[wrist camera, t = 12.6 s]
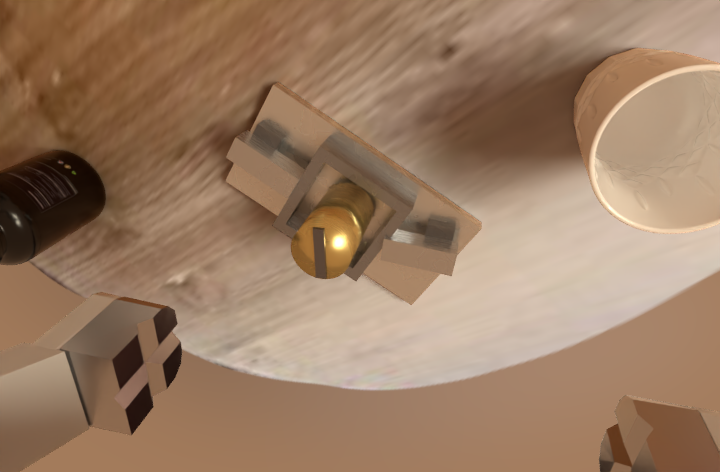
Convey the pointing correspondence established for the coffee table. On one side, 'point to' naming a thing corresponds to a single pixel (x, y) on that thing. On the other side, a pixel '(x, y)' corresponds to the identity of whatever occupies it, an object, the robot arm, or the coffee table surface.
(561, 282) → the coffee table surface
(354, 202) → the cylinder
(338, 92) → the coffee table surface
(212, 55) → the coffee table surface
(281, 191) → the shaft rig
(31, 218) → the supplement bottle
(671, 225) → the white cup
